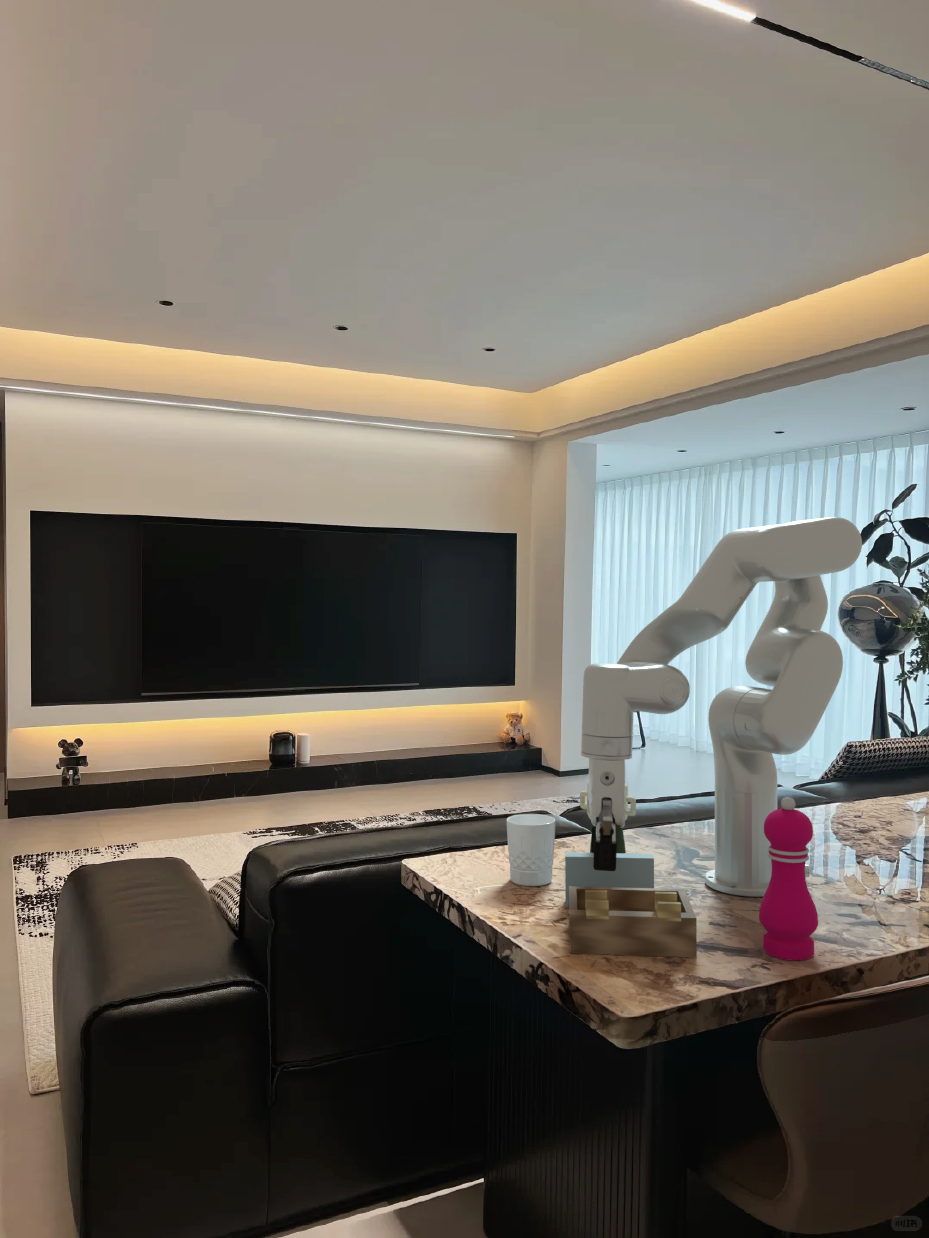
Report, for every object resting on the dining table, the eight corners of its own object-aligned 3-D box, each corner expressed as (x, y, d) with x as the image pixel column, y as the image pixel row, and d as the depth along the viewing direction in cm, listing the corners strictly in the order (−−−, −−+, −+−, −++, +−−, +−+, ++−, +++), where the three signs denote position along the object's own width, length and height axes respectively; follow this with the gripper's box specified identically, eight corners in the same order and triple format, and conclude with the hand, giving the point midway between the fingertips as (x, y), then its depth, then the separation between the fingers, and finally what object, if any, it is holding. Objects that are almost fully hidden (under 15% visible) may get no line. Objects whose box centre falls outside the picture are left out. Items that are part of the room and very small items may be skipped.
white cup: (552, 888, 147) (552, 825, 147) (503, 886, 148) (502, 824, 148) (558, 874, 155) (557, 814, 154) (511, 872, 156) (510, 813, 156)
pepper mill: (750, 942, 123) (749, 791, 123) (802, 940, 124) (802, 790, 124) (772, 963, 116) (772, 803, 116) (828, 961, 117) (828, 802, 116)
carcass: (684, 924, 130) (684, 873, 130) (698, 961, 117) (698, 904, 117) (569, 921, 132) (568, 870, 132) (570, 957, 119) (569, 900, 118)
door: (652, 903, 140) (652, 853, 140) (654, 908, 137) (653, 858, 137) (565, 901, 141) (565, 851, 141) (565, 906, 139) (565, 856, 139)
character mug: (570, 856, 165) (570, 783, 165) (589, 847, 171) (589, 777, 171) (626, 866, 159) (626, 790, 159) (644, 857, 165) (644, 783, 164)
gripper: (636, 756, 130) (632, 878, 130) (628, 740, 147) (624, 848, 147) (582, 753, 131) (578, 875, 131) (580, 738, 148) (576, 845, 148)
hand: (603, 861), depth 139 cm, fingers open, 9 cm apart
